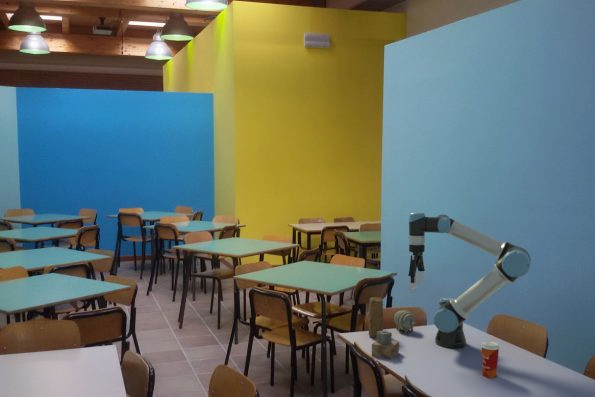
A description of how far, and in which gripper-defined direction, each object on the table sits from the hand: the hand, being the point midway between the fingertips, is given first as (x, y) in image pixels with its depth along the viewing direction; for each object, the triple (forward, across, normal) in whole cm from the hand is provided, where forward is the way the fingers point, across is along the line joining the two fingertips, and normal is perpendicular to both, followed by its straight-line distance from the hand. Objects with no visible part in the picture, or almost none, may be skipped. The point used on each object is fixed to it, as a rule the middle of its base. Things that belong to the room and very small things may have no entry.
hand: (416, 286), depth 278 cm
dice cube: (+25, +17, -11) cm, 32 cm away
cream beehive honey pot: (+30, -24, -13) cm, 41 cm away
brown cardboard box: (+31, +17, -11) cm, 37 cm away
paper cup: (+31, +23, +38) cm, 54 cm away
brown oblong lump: (+30, -9, -24) cm, 40 cm away
